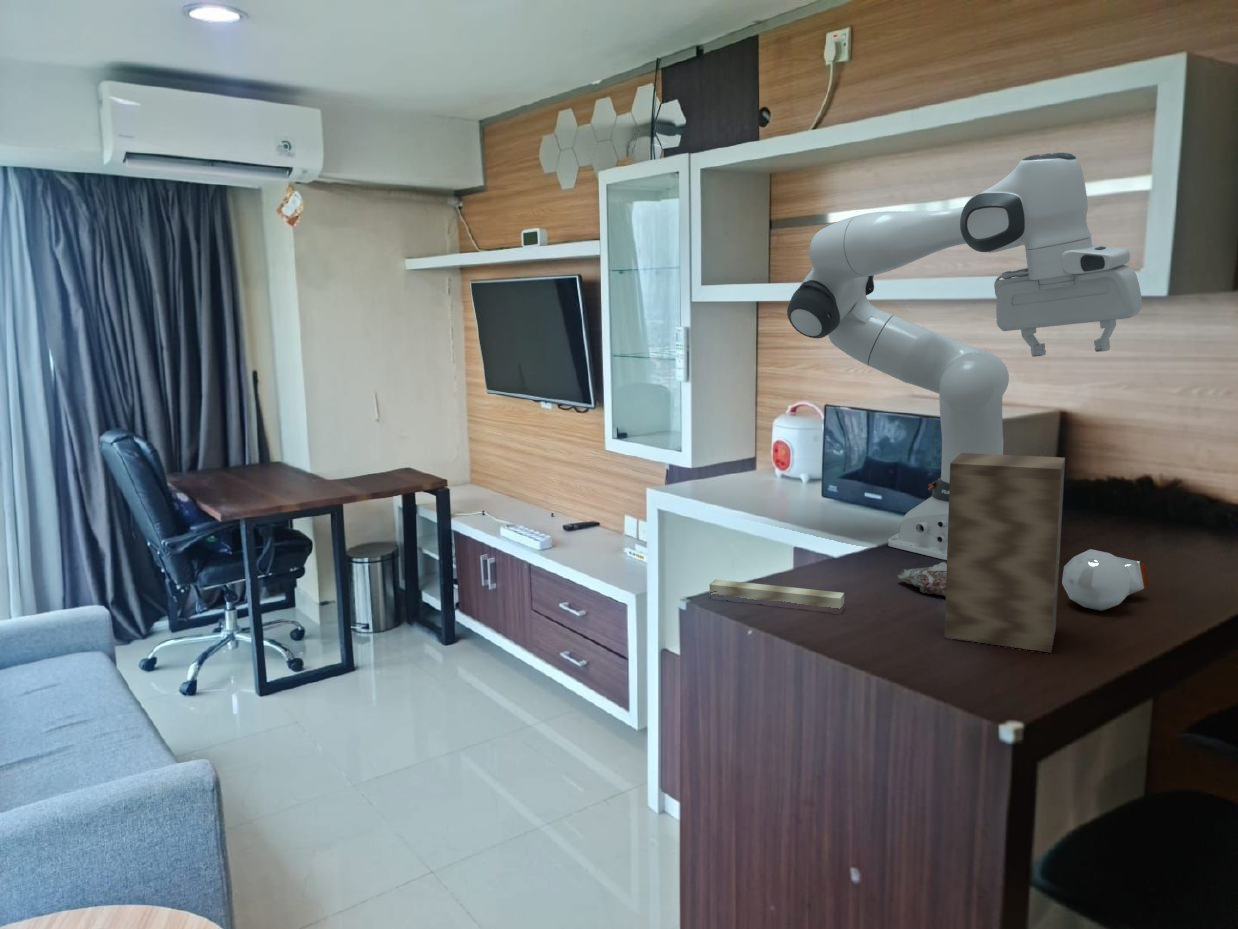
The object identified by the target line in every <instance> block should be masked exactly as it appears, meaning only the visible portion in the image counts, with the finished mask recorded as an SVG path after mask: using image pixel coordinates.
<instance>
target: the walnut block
mask: <svg viewBox="0 0 1238 929" xmlns="http://www.w3.org/2000/svg"><path fill="white" fill-rule="evenodd" d="M1065 463H1066V457H1059V456H1040V455H1039V456H1038V455H1017V454H1013V455H1011V454H1003V455H997V454H976V453H960V454H959V455H958V456H957V457H956V458H955V459H954V460H953V461H952V462H951V463H950V485H949V515H948V546H947V560H946V564H947V576H946V597H945V612H944V616H945V617H944V637H945V636H948V637H952V638H962V639H968V640H974V641H979V642H984V643H990V644H999V645H1005V646H1011V647H1015V648H1017V647H1018V648H1023V649H1028V650H1029V649H1030V650H1038V651H1039V650H1040V651H1045V652H1050V653H1051V654H1052V652H1051V651H1053V647H1052V646H1054V640H1055V636H1054V635H1056V630H1057V629H1056V627H1057V608H1058V595H1059V594H1058V593H1059V592H1058V591H1059V576H1060V575H1059V574H1060V559H1061V558H1060V554H1061V541H1062V540H1061V539H1062V538H1061V537H1062V536H1061V535H1062V520H1063V519H1062V518H1063V503H1064V502H1063V501H1064V483H1065V466H1066V464H1065Z"/></svg>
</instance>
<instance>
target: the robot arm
mask: <svg viewBox="0 0 1238 929" xmlns="http://www.w3.org/2000/svg"><path fill="white" fill-rule="evenodd" d="M1088 208H1089V205H1088V194H1087V190H1086V182H1085V177H1084V173H1083V170H1082V166H1081V163H1080V161H1079V158H1077V156H1075V155H1073V154H1072V153H1068V152H1051V153H1043V154H1034V155H1029V156H1026V157H1025V158H1023V159H1021V160H1020V161H1019V163H1018V164H1017V165H1016V167H1015V168H1014V169H1013V170H1012V171H1011V172H1010V173H1009V174H1007V175H1006V176H1005V177H1004V178H1002V179H1001V180H1000V181H998V182H996V183H995V184H994V185H992V186H990V187H989V188H987V189H985V190H984V191H982V192H980V193H978V194H976V195H974V196H973V197H971V198H969V200H968V201H967V202H966V203H965V205H964V206H962V207H957V208H952V209H951V208H950V209H945V210H943V209H942V210H925V211H923V210H922V211H921V210H917V211H916V210H914V211H913V210H912V211H910V210H909V211H907V210H905V211H901V210H898V211H896V210H895V211H894V210H893V211H891V210H890V211H887V210H886V211H875V212H874V211H873V212H867V213H862V214H859V215H855V216H854V215H853V216H850V217H847V218H844V219H841V220H838V221H836V222H833V223H831V224H829V225H828V226H826V227H824V228H822V229H820V230H819V231H817V232H816V233H815V234H814V235H813V237H812V239H811V241H810V243H809V244H810V245H809V249H808V257H809V262H810V264H811V266H812V267H811V269H810V270H808V272H807V274H806V276H805V278H804V280H802V282H801V284H800V285H799V287H798V288H797V289H796V290H795V291H794V292H793V294H792V295H791V298H790V301H789V302H788V306H787V308H786V316H787V319H788V320H789V323H790V324H791V326H792V328H793V329H794V330H795V331H796V332H797V333H799V334H800V335H803V336H805V337H808V338H811V339H817V340H818V339H823V338H825V337H828V339H829V340H830V341H829V342H830V343H831V344H832V345H833V346H834V347H836V348H837V349H839V350H840V351H842V352H843V353H845V354H846V355H848V356H850V357H851V358H853V359H855V360H857V361H859V362H860V363H862V364H864V365H866V366H868V367H870V368H872V369H874V370H876V371H878V372H879V371H880V372H881V373H884V374H885V375H888V376H890V377H892V378H894V379H897V380H899V381H901V382H903V383H906V384H909V385H913V386H916V387H919V388H920V389H921V388H922V389H925V390H928V391H930V392H933V393H936V394H938V395H939V399H938V400H939V415H940V416H939V418H940V428H941V468H940V470H941V471H940V472H941V473H940V477H939V478H938V479H937V480H933V481H932V482H931V483H929V484H928V488H927V489H928V491H931V496H929V497H928V498H927V499H925V500H924V501H922V502H920V503H919V504H918V505H917V506H915V507H913V508H912V509H911V510H909V511H907V512H906V513H905V515H903V518H902V521H901V524H900V528H899V532H897V533H895V534H894V535H891V537H889V538H888V541H887V545H888V547H891V548H896V549H899V550H903V551H908V552H911V553H916V554H920V555H925V556H928V557H932V558H936V559H940V560H944V561H947V546H948V515H949V485H950V463H951V462H952V461H953V460H954V459H955V458H956V457H957V456H958V455H959V454H960V453H976V454H997V455H1004V432H1003V431H1004V430H1003V429H1004V427H1003V426H1004V425H1003V397H1004V396H1003V395H1004V394H1005V392H1006V391H1007V389H1008V386H1009V380H1010V375H1009V371H1008V367H1007V366H1006V365H1005V363H1004V361H1003V360H1002V359H1001V358H1000V357H998V356H996V355H995V354H993V353H990V352H988V351H986V350H983V349H981V348H978V347H975V346H973V345H970V344H968V343H965V342H963V341H959V340H956V339H954V338H951V337H949V336H946V335H943V334H941V333H937V332H935V331H932V330H930V329H928V328H925V327H923V326H920V325H918V324H916V323H913V322H911V321H909V320H907V319H904V318H902V317H899V316H897V315H895V314H892V313H889V312H887V311H885V310H881V309H879V308H877V307H875V306H873V305H872V304H871V303H870V301H869V300H868V297H867V296H868V295H870V294H872V293H873V292H874V291H875V282H874V277H875V276H876V275H880V274H884V273H888V272H890V271H893V270H896V269H898V268H901V267H904V266H905V265H908V264H910V263H913V262H915V261H917V260H920V259H922V258H925V257H927V256H929V255H932V254H934V253H937V252H940V251H942V250H945V249H948V248H952V247H955V246H961V245H967V246H968V247H970V249H972V250H973V251H977V252H979V253H997V252H1001V251H1006V250H1009V249H1013V248H1014V249H1015V248H1019V247H1021V246H1024V249H1025V258H1026V265H1027V267H1026V268H1019V269H1017V270H1013V271H1010V270H1007V271H1004V272H1002V273H1001V274H1000V275H999V276H997V278H996V279H995V281H994V284H993V287H994V288H993V289H994V294H995V297H996V308H995V309H996V310H995V313H996V325H997V327H998V328H999V329H1000V330H1001V331H1002V332H1011V331H1018V330H1019V331H1021V332H1020V333H1021V337H1022V339H1023V340H1024V341H1025V343H1027V345H1028V346H1029V347H1030V354H1031V357H1033V358H1035V357H1043V356H1045V355H1046V352H1047V351H1046V343H1040V342H1039V341H1038V339H1037V337H1036V335H1035V334H1037V329H1039V328H1048V327H1056V326H1057V327H1058V326H1066V325H1067V326H1068V325H1069V326H1070V325H1076V324H1077V325H1078V324H1085V323H1086V324H1087V323H1095V322H1099V327H1100V329H1102V330H1103V329H1104V330H1103V332H1102V334H1101V336H1100V337H1099V338H1097V339H1095V340H1093V345H1094V351H1095V352H1096V353H1098V352H1099V353H1100V352H1107V351H1109V350H1110V349H1111V344H1110V343H1111V342H1110V338H1111V337H1112V334H1113V333H1114V330H1115V328H1116V326H1117V320H1126V319H1131V318H1134V317H1135V316H1137V315H1138V314H1139V313H1140V311H1141V310H1142V308H1143V299H1142V298H1143V297H1142V293H1141V292H1142V291H1141V288H1140V283H1139V280H1138V276H1137V273H1136V271H1135V270H1134V268H1132V267H1131V266H1129V265H1127V263H1129V262H1130V259H1131V253H1130V250H1128V249H1127V248H1124V247H1123V248H1122V247H1117V246H1116V247H1115V246H1114V247H1113V246H1107V245H1100V244H1098V245H1097V244H1093V243H1092V234H1091V232H1090V229H1089V227H1088V223H1087V213H1088Z"/></svg>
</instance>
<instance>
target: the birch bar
mask: <svg viewBox="0 0 1238 929" xmlns="http://www.w3.org/2000/svg"><path fill="white" fill-rule="evenodd" d="M726 588H727V589H726ZM713 591H717V592H713ZM710 592H713V593H711V595H712V594H719V595H724V596H726V595H729V596H733V597H740V598H747V599H754V600H766V601H783V602H784V601H785V602H791V603H797V604H805V605H811V606H818V607H831V608H839V609H840V608H841V607H842V606H843V604H844V605H845V592H838V591H829V590H818V589H811V588H810V589H809V588H802V587H801V588H800V587H792V586H782V585H781V586H780V585H772V584H771V585H770V584H762V583H753V582H745V581H744V582H743V581H733V580H725V579H714V580H713V581H712V582H711V583H710V584H709V593H710Z"/></svg>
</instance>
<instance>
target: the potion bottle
mask: <svg viewBox="0 0 1238 929" xmlns="http://www.w3.org/2000/svg"><path fill="white" fill-rule="evenodd" d="M1061 584H1062V586H1063V588H1064V590H1065V592H1066V594H1067V596H1068V598H1069V599H1070V600H1072V601H1073V602H1075V603H1077V604H1078V605H1080V606H1082V607H1084V608H1086V609H1091V610H1095V611H1100V612H1103V611H1106V610H1108V609H1110V608H1111V609H1112V608H1113V607H1117V606H1118V605H1120V604H1121V603H1122V602H1123V601H1124V600H1125V599H1126V598H1127V597H1128V596H1130V595H1133V594H1135V593H1138V592H1141V591H1143V590H1145V589H1148V588H1150V586H1149V581H1148V575H1147V570H1146V564H1145V562H1141V561H1138V560H1135V559H1133V560H1132V559H1128V558H1125V557H1124V558H1123V557H1119V556H1116V555H1114V554H1112V553H1110V552H1105V551H1100V550H1097V549H1091V548H1090V549H1087V550H1086V551H1084V552H1081V553H1079V554H1077V555H1075V556H1073V557H1072V558H1071V559H1070V560H1069V561H1067V563H1066V564H1065V565H1064V566H1063V572H1062V579H1061Z"/></svg>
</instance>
